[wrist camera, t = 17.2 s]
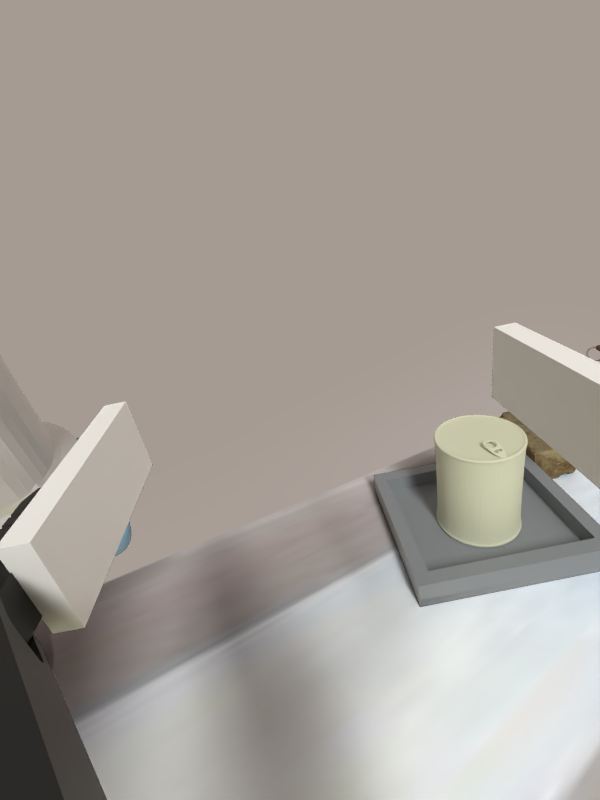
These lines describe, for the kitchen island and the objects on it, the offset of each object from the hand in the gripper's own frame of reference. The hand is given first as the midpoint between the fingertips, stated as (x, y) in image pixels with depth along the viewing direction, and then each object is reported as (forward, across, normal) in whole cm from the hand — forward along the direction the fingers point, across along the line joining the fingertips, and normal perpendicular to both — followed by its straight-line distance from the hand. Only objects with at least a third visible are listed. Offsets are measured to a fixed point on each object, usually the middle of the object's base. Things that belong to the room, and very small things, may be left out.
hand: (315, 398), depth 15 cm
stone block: (+33, +30, -32) cm, 55 cm away
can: (+23, +17, -31) cm, 42 cm away
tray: (+23, +17, -32) cm, 43 cm away
